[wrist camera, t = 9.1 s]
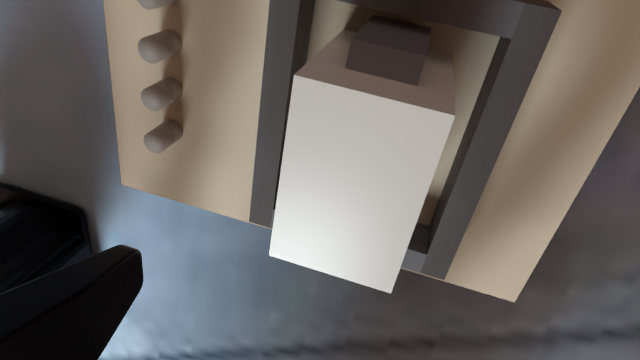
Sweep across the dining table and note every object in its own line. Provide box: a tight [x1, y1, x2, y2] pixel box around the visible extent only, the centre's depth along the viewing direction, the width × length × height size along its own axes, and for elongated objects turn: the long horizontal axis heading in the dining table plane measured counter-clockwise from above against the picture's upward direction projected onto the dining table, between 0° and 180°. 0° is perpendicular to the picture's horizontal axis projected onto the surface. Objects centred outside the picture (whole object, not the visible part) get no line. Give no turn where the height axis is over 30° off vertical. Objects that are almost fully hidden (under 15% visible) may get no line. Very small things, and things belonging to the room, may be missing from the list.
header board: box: [103, 0, 640, 302], centre depth 17 cm, size 20×14×4 cm
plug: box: [269, 15, 455, 293], centre depth 14 cm, size 4×7×6 cm, turn 170°
